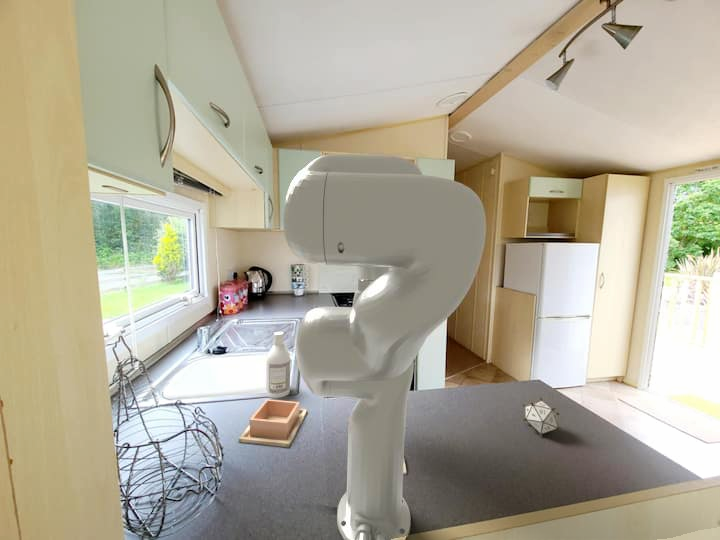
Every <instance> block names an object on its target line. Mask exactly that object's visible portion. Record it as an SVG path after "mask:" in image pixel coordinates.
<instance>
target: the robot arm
mask: <svg viewBox="0 0 720 540" xmlns="http://www.w3.org/2000/svg"><path fill="white" fill-rule="evenodd" d="M282 213H283V214H282V224H283V233H284V238H285V240H286V243H287V246H288V247H289V249H290V251H291V252H292V253H293V254H294V256H295V257H296V258H298V259H299V260H300V261H303V262H304V263H305V262H306V263H307V264H311V265H312V264H313V265H318V266H319V265H320V266H343V267H344V266H347V267H350V266H351V267H358V270H357V272H358V273H357V274H358V275H357V278H358V279H357V290H355V292H354V296H353V301H352V306H320V307H315V308H312V309H310V310H309V311H307V313H306V314H304V316H303V317H302V319H301V321H300V324H299V326H298V328H297V329H298V330H297V333H296V338H295V356H296V357H295V358H296V363H297V368H298V370H299V371H298V372H299V373H300V376H301V378H302V379H303V381H304V383H305V385H306V387H307V388H308V390H309V391H310V392H311V393H312V394H313V395H315V396H318V397H323V398H347V399H348V398H352V399H355V398H357V399H358V400H357V402H356V403H355V405H354V407H353V408H352V410H351V412H350V416H349V419H348V427H347V428H348V429H347V434H348V435H347V467H346V472H347V473H346V491H345V493H344V494H343V495H342V497H341V498H340V499H339V500H340V501H339V503H338V506H337V510H336V521H337V523H336V524H337V528H338V530H339V531H338V532H339V533H340V535H341V538H342V539H343V540H391V539H394V538H399V537H405V536H407V535H408V536H409V534H410V532H411V531H410V530H411V512H410V509H409V506H408V503H407V502H406V500H405V498H404V497H403V485H404V484H403V483H404V482H403V481H404V474H403V465H404V461H405V457H404V456H405V442H406V441H405V439H406V438H405V437H406V423H407V422H406V420H407V419H406V418H407V407H408V401H409V394H410V390H411V385H412V381H413V376H414V375H413V374H414V364H415V363H414V360H415V359H416V357H417V356H418V354H419V352H420V350H421V349H422V347H423V345H424V343H425V341H426V339H427V338H428V337H429V336H430V335H431V334H432V333H433V332H434V331H435V330H436V329H437V328H438V327H440V326H441V325H442V324H443V323H444V322H445V321H446V320H447V319H449V317H450V316H451V315H452V313H454V311H455V310H456V309H457V308H458V307H459V306H460V304H461V303H462V302H463V300H464V298H465V297H466V295H467V293H468V292H469V290H470V288H471V286H472V285H473V282H474V281H475V279H476V275H477V273H478V271H479V267H480V264H481V261H482V257H483V252H484V247H485V243H486V235H487V219H486V211H485V208H484V204H483V203H482V200H481V198H480V197H479V196H478V194H477V193H476V192H475V191H474V190H473V189H472V188H470V187H469V186H467V185H465V184H463V183H462V182H458V181H455V180H454V179H453V180H452V179H450V178H446V177H445V178H444V177H441V176H431V175H425V174H423V173H422V171H421V170H420V168H419V167H418V166H417V164H415V163H414V162H413V161H411V160H409V159H407V158H404V157H401V156H395V155H386V154H385V155H384V154H383V155H382V154H350V153H349V154H348V153H331V154H325V155H322V156H319V157H318V158H315V159H314V160H313V161H311V162H310V163H308V165H306V166H305V167H304V168H303V169H302V170H300V171H299V172H298V173H297V174H296V176H295V177H294V178H293V180H292V181H291V183H290V185H289V188H288V190H287V192H286V196H285V199H284V203H283V212H282Z"/></svg>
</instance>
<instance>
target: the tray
mask: <svg viewBox="0 0 720 540" xmlns="http://www.w3.org/2000/svg"><path fill="white" fill-rule="evenodd" d="M307 413H308V409H307V408H300V412H299V418H298V420H297V422H296V424H295V426H294V427H293V429H292V431H291V433H290V435H289V436H288V438H287V439H277V438H267V437H258V436H250V424H249V425H248V426H247V427H246V428H245V430H244V431H243V432H242V434H241V435H240V436H239V438H238V443H244V444H254V445H265V446H271V447H280V448H281V447H283V448H290V446H291V444H292V442H293V441H294V438H295V437H296V435H297V433H298V431H299V429H300V427H301V425H302V423H303V422H304V419H305V417H306V415H307ZM287 418H288V417H284V416H273V415H267V417H266V418H265V420H276V421H286V420H287Z"/></svg>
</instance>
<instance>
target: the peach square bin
mask: <svg viewBox="0 0 720 540" xmlns="http://www.w3.org/2000/svg"><path fill="white" fill-rule="evenodd" d="M300 403H301V402H300V401H290V400H279V399H278V400H277V399H265V400H264V401H263V403H262V404H261V406H260V407H259V408H258V409H257V410H256V411H255V412H254V413H253V415H252V416H251V417H250V419H249V425H250V436H258V437H267V438H277V439H287V438H288V436H289V435H290V433H291V431H292V429H293V427H294V426H295V424H296V422H297V420H298V418H299V412H300V409H301V408H300V406H301V405H300ZM267 415H273V416H284V417H288V418H287V420H286V421H276V420H265V418H266V417H267Z"/></svg>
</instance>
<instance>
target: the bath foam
mask: <svg viewBox="0 0 720 540" xmlns="http://www.w3.org/2000/svg"><path fill="white" fill-rule="evenodd" d="M284 335H285V333H284V332H283V331H276V332H273V345H272V347H271V348H270V350H269V352H268V354H267V357H266V396H267V397H268V398H272V399H280V398H283V397H286V396H288V395H289V394H290V393H291V392H290V391H291V356H290V355H291V354H290V351H289V350H288V348H287V347H286V345H285V344H284V342H285V341H284V340H285V338H284Z"/></svg>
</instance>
